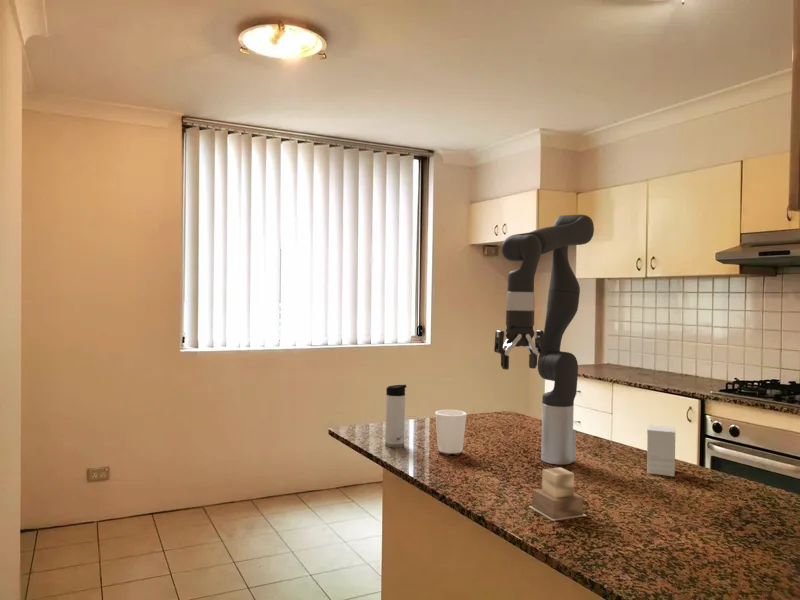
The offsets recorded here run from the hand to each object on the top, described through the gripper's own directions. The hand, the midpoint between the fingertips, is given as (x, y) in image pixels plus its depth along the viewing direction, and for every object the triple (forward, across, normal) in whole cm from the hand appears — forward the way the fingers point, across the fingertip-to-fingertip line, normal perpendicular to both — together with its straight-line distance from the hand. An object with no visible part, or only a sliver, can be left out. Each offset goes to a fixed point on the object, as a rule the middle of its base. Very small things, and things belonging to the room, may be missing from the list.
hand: (518, 368), depth 164 cm
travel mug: (+30, +18, -44) cm, 56 cm away
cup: (+30, +5, -30) cm, 43 cm away
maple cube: (+25, +6, +26) cm, 37 cm away
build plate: (+30, +3, +23) cm, 38 cm away
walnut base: (+29, +6, +26) cm, 39 cm away
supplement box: (+30, -44, +7) cm, 54 cm away
